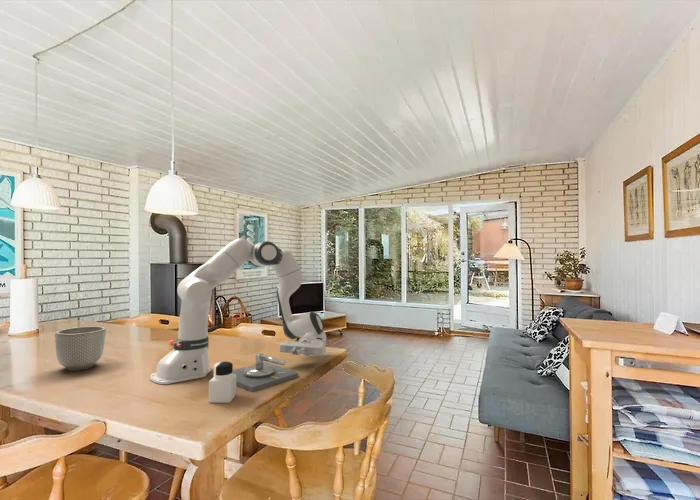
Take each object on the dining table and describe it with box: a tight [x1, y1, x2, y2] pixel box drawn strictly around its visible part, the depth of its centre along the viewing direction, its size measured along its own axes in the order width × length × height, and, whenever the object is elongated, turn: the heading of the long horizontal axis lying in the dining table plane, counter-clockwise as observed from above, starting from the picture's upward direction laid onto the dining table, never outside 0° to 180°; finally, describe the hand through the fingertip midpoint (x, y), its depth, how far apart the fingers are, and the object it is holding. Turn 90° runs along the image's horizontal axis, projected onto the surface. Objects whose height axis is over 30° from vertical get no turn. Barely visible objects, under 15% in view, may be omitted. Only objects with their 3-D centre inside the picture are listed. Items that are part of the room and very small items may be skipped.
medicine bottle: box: [208, 361, 237, 404], centre depth 122 cm, size 7×7×12 cm
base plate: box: [233, 361, 299, 393], centre depth 143 cm, size 22×22×2 cm
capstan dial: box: [244, 353, 287, 378], centre depth 141 cm, size 20×12×7 cm, turn 56°
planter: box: [54, 325, 107, 372], centre depth 152 cm, size 17×17×16 cm
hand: (295, 352), depth 150 cm, fingers closed
